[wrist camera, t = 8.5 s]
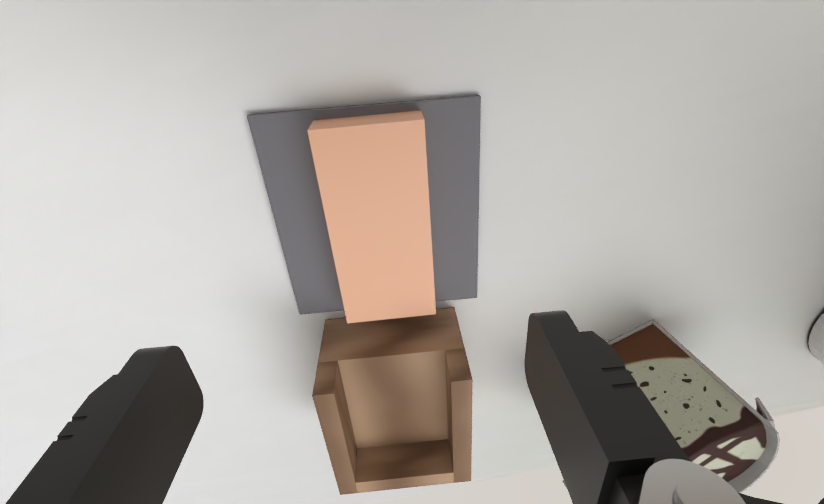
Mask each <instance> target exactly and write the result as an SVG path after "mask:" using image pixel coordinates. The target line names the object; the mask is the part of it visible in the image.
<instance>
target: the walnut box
mask: <svg viewBox="0 0 824 504" xmlns="http://www.w3.org/2000/svg"><path fill="white" fill-rule="evenodd" d="M312 396H313V400H314V403H315V407H316V411H317V414H318V418H319V421H320V425H321V428H322V432H323V435H324V439H325V442H326V446H327V449H328V453H329V456H330V460H331V463H332V467H333V471H334V474H335V478H336V481H337V485H338V488H339V492H340V495H342V494H352V493H361V492H371V491H380V490H389V489H399V488H408V487H418V486H427V485H437V484H446V483H455V482H465V481H471V445H472V377H471V372H470V368H469V364H468V360H467V356H466V352H465V348H464V344H463V340H462V336H461V332H460V328H459V324H458V320H457V316H456V312H455V308H445V309H436V314H433V315H423V316H414V317H404V318H395V319H385V320H375V321H366V322H356V323H347V320H346V318H340V319H330V320H325V326H324V331H323V337H322V343H321V349H320V354H319V360H318V366H317V372H316V377H315V383H314V389H313V395H312Z"/></svg>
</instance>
